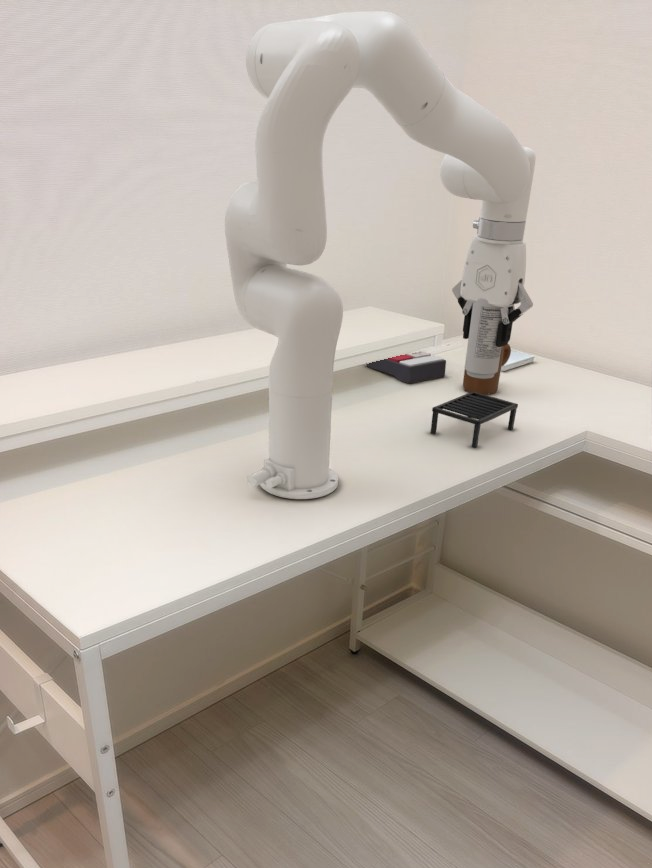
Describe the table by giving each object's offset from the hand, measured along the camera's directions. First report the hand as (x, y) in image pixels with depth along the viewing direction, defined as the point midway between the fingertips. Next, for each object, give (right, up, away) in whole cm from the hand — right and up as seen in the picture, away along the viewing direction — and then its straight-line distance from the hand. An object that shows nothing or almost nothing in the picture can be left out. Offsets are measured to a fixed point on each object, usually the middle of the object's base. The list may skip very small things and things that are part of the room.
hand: (485, 340), depth 142 cm
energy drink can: (0, -5, +3) cm, 6 cm away
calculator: (-11, +6, +39) cm, 41 cm away
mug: (+6, 0, +32) cm, 33 cm away
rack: (-1, -14, +9) cm, 17 cm away
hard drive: (+14, +10, +49) cm, 52 cm away
